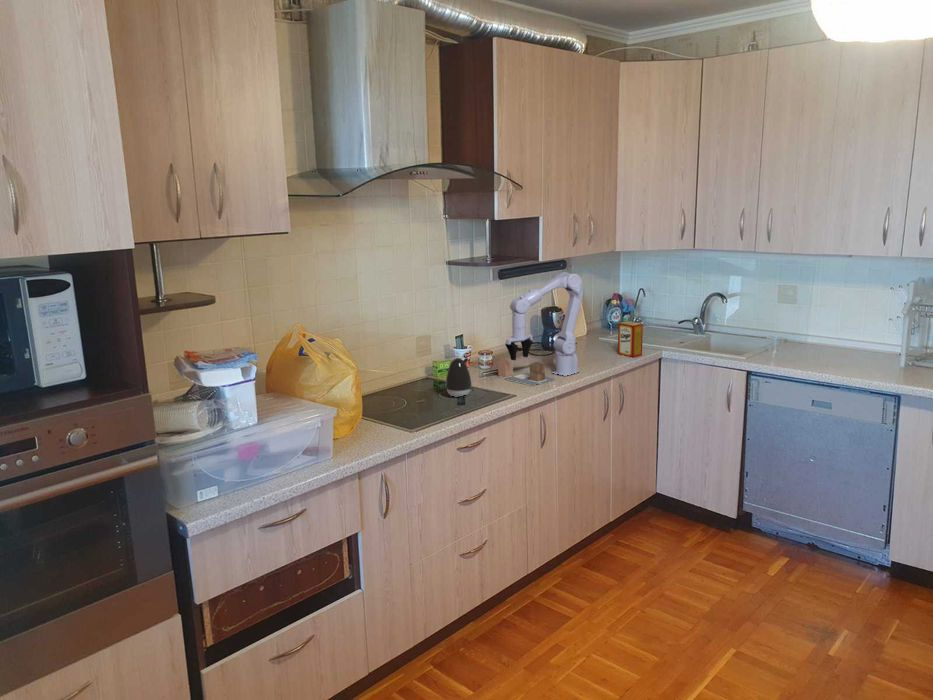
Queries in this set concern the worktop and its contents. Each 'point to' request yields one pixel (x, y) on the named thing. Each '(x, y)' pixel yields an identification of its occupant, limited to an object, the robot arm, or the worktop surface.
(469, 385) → the black egg-shaped speaker
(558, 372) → the robot arm
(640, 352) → the baking soda box
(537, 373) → the walnut pillar
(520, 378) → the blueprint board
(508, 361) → the terracotta pillar
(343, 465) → the worktop surface
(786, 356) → the worktop surface
